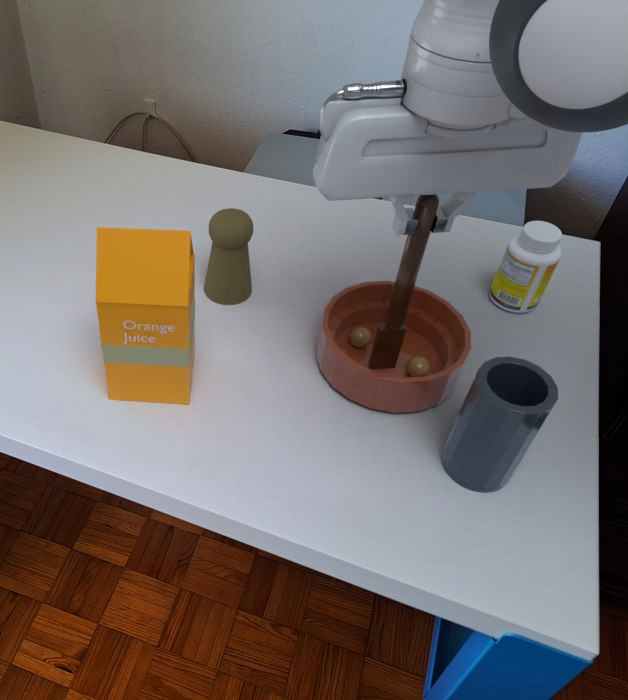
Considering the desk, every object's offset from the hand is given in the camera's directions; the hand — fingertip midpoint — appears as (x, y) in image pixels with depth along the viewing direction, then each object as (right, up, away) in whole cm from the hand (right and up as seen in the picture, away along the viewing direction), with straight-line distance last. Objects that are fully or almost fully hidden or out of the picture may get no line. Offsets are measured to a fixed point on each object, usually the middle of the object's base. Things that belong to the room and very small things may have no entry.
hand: (420, 229), depth 61 cm
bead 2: (+4, -12, +13) cm, 18 cm away
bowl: (+2, -12, +16) cm, 20 cm away
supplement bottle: (+19, -5, +22) cm, 30 cm away
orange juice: (-24, -14, +15) cm, 32 cm away
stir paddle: (+1, -12, +13) cm, 18 cm away
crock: (+8, -22, +6) cm, 24 cm away
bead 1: (-1, -9, +16) cm, 19 cm away
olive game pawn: (-15, -3, +25) cm, 29 cm away
